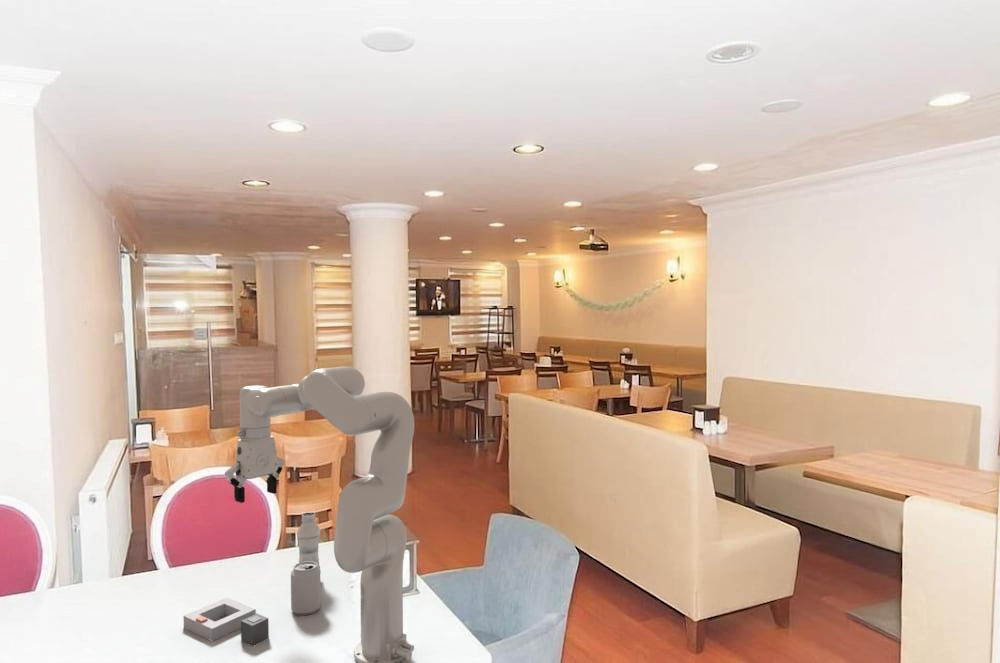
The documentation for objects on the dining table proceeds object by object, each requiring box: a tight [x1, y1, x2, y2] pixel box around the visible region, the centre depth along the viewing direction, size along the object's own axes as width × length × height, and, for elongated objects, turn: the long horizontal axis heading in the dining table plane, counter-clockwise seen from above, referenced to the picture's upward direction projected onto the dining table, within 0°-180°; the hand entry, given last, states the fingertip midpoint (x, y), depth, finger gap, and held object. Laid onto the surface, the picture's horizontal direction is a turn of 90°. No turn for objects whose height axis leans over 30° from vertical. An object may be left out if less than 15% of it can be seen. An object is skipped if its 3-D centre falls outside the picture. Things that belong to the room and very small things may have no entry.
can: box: [290, 561, 322, 616], centre depth 168 cm, size 8×8×12 cm
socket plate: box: [183, 597, 257, 642], centre depth 161 cm, size 12×12×4 cm
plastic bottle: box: [296, 511, 322, 574], centre depth 185 cm, size 6×7×20 cm
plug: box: [240, 613, 270, 647], centre depth 153 cm, size 4×4×5 cm
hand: (256, 497), depth 169 cm, fingers open, 9 cm apart
